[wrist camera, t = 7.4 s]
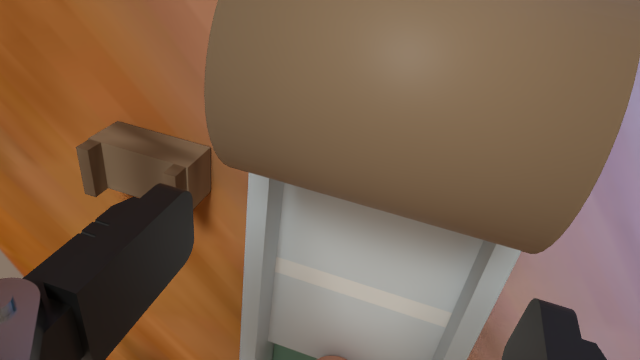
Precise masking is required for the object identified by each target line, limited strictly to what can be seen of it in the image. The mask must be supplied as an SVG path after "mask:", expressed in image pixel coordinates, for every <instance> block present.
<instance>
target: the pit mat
mask: <svg viewBox="0 0 640 360" xmlns="http://www.w3.org/2000/svg"><path fill="white" fill-rule="evenodd" d="M272 360H317V358H314V357H311V356H309V355H306V354H303V353H300V352H298V351H295V350H292V349H289V348H286V347H284V346H281V345H278V344H275V343H274V351H273V359H272Z"/></svg>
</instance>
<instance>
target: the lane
mask: <svg viewBox="0 0 640 360" xmlns="http://www.w3.org/2000/svg"><path fill="white" fill-rule="evenodd" d="M639 57H640V0H218V2H217V6H216V9H215V13H214V17H213V22H212V27H211V31H210V36H209V43H208V50H207V57H206V68H205V91H204V97H205V114H206V121H207V128H208V132H209V137H210V140H211V143H212V146H213V148H214V151H215V153H216V154H217V156H218V158H219V159H220V160H221V161H222V162H223V163H224V164H225V165H227V166H229V167H232V168H235V169H239V170H242V171H246V172H249V180H248V200H247V219H246V239H245V259H244V279H243V299H242V319H241V339H240V359H239V360H272V359H273V351H274V343H275V344H278V345H281V346H284V347H286V348H289V349H292V350H295V351H298V352H300V353H303V354H306V355H309V356H311V357H314V358H317V359H319V358H321V357H324V356H339V357H342V358H345V359H347V360H467V358H468V356H469V354H470V352H471V350H472V348H473V346H474V344H475V342H476V340H477V338H478V336H479V334H480V332H481V330H482V328H483V326H484V324H485V322H486V321H487V319H488V317H489V315H490V313H491V311H492V309H493V307H494V305H495V303H496V301H497V299H498V297H499V295H500V293H501V291H502V289H503V287H504V285H505V283H506V281H507V279H508V277H509V275H510V273H511V271H512V269H513V267H514V265H515V263H516V261H517V259H518V257H519V255H520V253H521V251H523V252H526V253H530V254H537V253H539V252H542V251H544V250H545V249H547V248H548V247H550V246H551V245H552V244H553V243H554V242H555V241H556V240H558V239H559V238H560V237H561V235H562V234H563V233H564V232H565V231H566V229H567V228H568V227H569V226H570V224H571V223H572V221H573V220H574V219H575V217H576V216H577V214H578V213H579V211H580V210H581V208H582V206H583V205H584V203H585V202H586V200H587V198H588V197H589V195H590V193H591V191H592V189H593V187H594V185H595V184H596V182H597V180H598V178H599V176H600V174H601V172H602V169H603V167H604V165H605V163H606V161H607V159H608V156H609V154H610V152H611V149H612V147H613V144H614V142H615V139H616V137H617V134H618V132H619V129H620V126H621V123H622V120H623V117H624V115H625V112H626V109H627V106H628V102H629V99H630V95H631V92H632V88H633V85H634V81H635V76H636V72H637V67H638V63H639Z"/></svg>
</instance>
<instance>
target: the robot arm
mask: <svg viewBox="0 0 640 360" xmlns="http://www.w3.org/2000/svg"><path fill="white" fill-rule="evenodd" d="M193 244H194V225H193V198H192V195H191V193H190V192H189V191H186V190H182V189H179V188H176V187H173V186H169V185H166V184H163V183H159V184H157V185H155V186H154V187H153V188H151V189H150V190H149V191H148V192H147V193H146V194H144V195H143V196H142V197H141V198H136V197H132V198H130V199H127V200H125V201H123V202H120V203H118V204H115V205H113V206H111V207H110V208H109V209H108V210H106V211H105V212H104V213H103V214H102V215H100V216H99V217H98V218H97V219H96V220H95V222H92V223H90V224H89V225H88V226H87V227H86V228H84V229H83V230H82V233H81V234H79V233H78V234H77V235H76V236H74V237H73V238H72V239H71V240H70V241H68V242H67V243H66V244H65V245H63V246H62V247H61V248H60V249H58V250H57V251H56V252H55V253H53V254H52V255H51V256H50V257H49V258H47V259H46V260H45V261H44V262H42V263H41V264H40V265H39V266H37V267H36V268H35V269H34V270H33V271H31V272H30V273H29V274H28V275H26V276H25V277H24V278H22V279H21V278H3V279H0V360H105V359H106V358H107V357H108V356H109V354H110V353H111V352H112V351H113V350H114V348H115V347H116V346H117V345H118V344H119V342H120V341H121V340H122V339H123V338H124V336H125V335H126V334H127V333H128V332H129V330H130V329H131V328H132V327H133V326H134V324H135V323H136V322H137V321H138V320H139V318H140V317H141V316H142V315H143V314H144V312H145V311H146V310H147V309H148V308H149V306H150V305H151V304H152V303H153V302H154V300H155V299H156V298H157V297H158V296H159V294H160V293H161V292H162V291H163V290H164V288H165V287H166V286H167V285H168V283H169V282H170V281H171V280H172V279H173V277H174V276H175V275H176V274H177V273H178V271H179V270H180V269H181V268H182V267H183V265H184V264H185V263H186V261H187V260H188V258H189V256H190V254H191V251H192V248H193ZM502 360H607V359H606V358H605V356H604V355H603V353H602V352H601V350H600V349H599V347H598V346H597V344H596V343H593V342H590V341H587V340H583V339H582V338H581V334H580V329H579V325H578V320H577V316H576V313H575V312H574V310H572V309H569V308H566V307H562V306H559V305H556V304H553V303H549V302H546V301H543V300H540V299H536V298H535V299H533V300H531V302H530V303H529V305H528V306H527V308H526V310H525V312H524V313H523V315H522V317H521V319H520V321H519V322H518V324H517V326H516V328H515V329H514V331H513V333H512V335H511V336H510V338H509V340H508V342H507V344H506V346H505V349H504V352H503V356H502Z"/></svg>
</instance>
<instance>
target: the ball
mask: <svg viewBox="0 0 640 360" xmlns="http://www.w3.org/2000/svg"><path fill="white" fill-rule="evenodd" d="M317 360H347V359H345V358H342V357H339V356H324V357H321V358H319V359H317Z"/></svg>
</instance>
